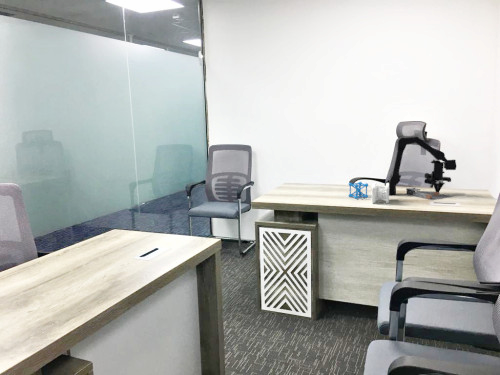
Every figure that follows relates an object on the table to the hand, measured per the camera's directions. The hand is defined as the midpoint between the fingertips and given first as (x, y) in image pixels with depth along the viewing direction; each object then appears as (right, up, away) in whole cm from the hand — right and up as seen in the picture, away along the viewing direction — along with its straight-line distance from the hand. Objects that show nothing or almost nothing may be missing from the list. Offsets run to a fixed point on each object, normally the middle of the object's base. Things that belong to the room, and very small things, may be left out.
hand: (437, 193), depth 273 cm
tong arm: (-6, -1, 0) cm, 6 cm away
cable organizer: (-42, -6, -12) cm, 44 cm away
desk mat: (-6, -2, 0) cm, 7 cm away
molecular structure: (-52, -3, +4) cm, 52 cm away
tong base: (-12, -2, -2) cm, 12 cm away
